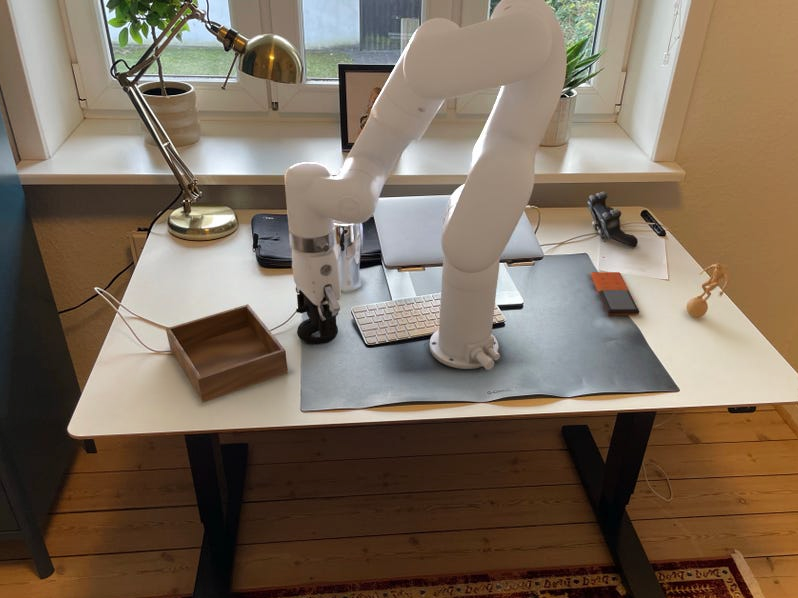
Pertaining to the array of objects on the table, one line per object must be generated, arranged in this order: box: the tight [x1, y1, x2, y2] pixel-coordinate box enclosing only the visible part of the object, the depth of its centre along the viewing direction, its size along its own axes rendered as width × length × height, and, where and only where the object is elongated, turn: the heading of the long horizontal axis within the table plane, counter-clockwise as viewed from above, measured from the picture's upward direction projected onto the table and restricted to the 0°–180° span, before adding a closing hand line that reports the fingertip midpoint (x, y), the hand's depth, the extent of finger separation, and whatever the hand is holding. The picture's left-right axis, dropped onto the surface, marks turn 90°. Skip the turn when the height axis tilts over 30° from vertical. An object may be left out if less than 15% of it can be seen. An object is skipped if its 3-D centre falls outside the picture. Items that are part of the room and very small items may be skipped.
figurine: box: [685, 262, 730, 318], centre depth 145 cm, size 8×6×12 cm
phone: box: [590, 271, 640, 316], centre depth 152 cm, size 6×1×15 cm
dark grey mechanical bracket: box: [586, 191, 639, 249], centre depth 172 cm, size 16×7×10 cm, turn 10°
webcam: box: [295, 294, 339, 346], centre depth 135 cm, size 8×8×10 cm
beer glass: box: [333, 220, 364, 293], centre depth 148 cm, size 7×7×15 cm
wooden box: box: [165, 303, 289, 403], centre depth 129 cm, size 16×15×5 cm
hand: (317, 322), depth 136 cm, fingers closed on webcam, 7 cm apart
